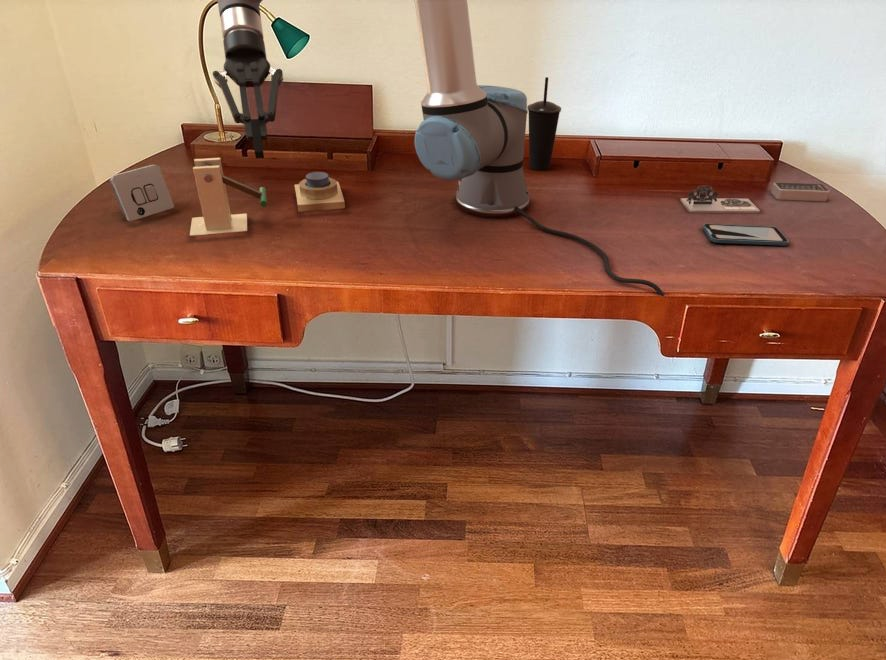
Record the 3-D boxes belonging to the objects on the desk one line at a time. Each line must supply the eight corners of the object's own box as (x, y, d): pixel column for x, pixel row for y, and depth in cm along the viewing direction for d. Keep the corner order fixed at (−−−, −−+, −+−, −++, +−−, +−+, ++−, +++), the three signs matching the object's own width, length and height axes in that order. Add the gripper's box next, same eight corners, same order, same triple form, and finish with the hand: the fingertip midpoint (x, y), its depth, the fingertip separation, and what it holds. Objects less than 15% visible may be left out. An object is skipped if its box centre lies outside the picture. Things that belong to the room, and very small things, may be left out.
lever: (263, 196, 130) (268, 185, 129) (264, 210, 125) (269, 199, 124) (199, 168, 124) (204, 156, 123) (197, 182, 119) (202, 170, 118)
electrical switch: (131, 227, 128) (115, 178, 123) (118, 222, 131) (101, 173, 126) (177, 212, 134) (163, 165, 129) (163, 208, 137) (149, 161, 132)
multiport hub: (770, 192, 153) (773, 182, 152) (819, 193, 153) (822, 183, 152) (777, 199, 149) (780, 189, 148) (827, 201, 149) (830, 191, 148)
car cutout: (689, 212, 142) (694, 191, 140) (680, 200, 148) (684, 180, 145) (759, 212, 143) (765, 192, 141) (747, 200, 149) (752, 180, 146)
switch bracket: (248, 219, 133) (236, 153, 125) (248, 236, 126) (236, 168, 119) (193, 223, 130) (178, 157, 123) (190, 241, 124) (174, 172, 116)
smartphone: (790, 242, 129) (712, 239, 129) (789, 247, 130) (711, 244, 129) (776, 226, 135) (701, 223, 135) (774, 230, 136) (700, 227, 135)
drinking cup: (539, 159, 166) (547, 72, 155) (562, 168, 161) (571, 79, 150) (516, 165, 162) (522, 76, 151) (538, 174, 157) (546, 83, 146)
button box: (339, 192, 145) (337, 172, 142) (345, 213, 136) (343, 191, 134) (296, 195, 143) (293, 175, 140) (299, 216, 134) (296, 195, 132)
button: (328, 180, 139) (327, 171, 138) (330, 188, 136) (329, 178, 135) (306, 181, 138) (305, 172, 137) (307, 189, 135) (306, 180, 134)
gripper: (280, 51, 136) (296, 161, 133) (210, 53, 133) (225, 166, 129) (277, 27, 129) (294, 143, 125) (204, 28, 126) (219, 147, 122)
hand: (259, 154), depth 127 cm, fingers closed
